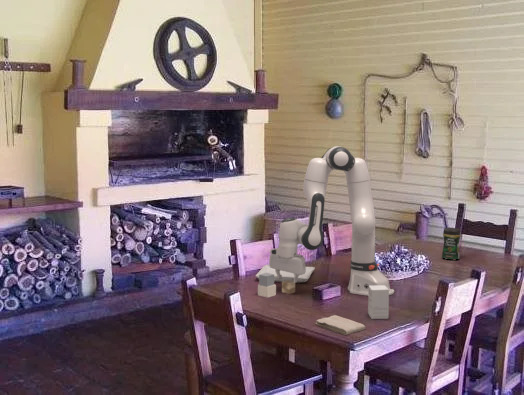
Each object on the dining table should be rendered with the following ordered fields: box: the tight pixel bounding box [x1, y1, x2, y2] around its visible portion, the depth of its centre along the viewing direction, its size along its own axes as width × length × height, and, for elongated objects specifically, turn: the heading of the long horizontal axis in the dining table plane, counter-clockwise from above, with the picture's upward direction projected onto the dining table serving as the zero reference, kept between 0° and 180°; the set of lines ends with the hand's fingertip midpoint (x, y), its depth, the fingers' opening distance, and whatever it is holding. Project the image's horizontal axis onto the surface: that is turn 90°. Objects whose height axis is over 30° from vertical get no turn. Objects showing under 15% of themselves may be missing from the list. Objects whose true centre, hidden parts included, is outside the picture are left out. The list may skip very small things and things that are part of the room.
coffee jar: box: [441, 226, 461, 260], centre depth 395 cm, size 10×8×19 cm
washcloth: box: [315, 314, 366, 336], centre depth 272 cm, size 12×18×3 cm, turn 41°
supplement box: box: [367, 285, 390, 320], centre depth 285 cm, size 7×7×13 cm
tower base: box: [257, 283, 277, 298], centre depth 319 cm, size 6×6×5 cm
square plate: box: [255, 264, 316, 284], centre depth 354 cm, size 27×27×4 cm
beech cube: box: [281, 280, 296, 295], centre depth 324 cm, size 4×4×5 cm
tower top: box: [258, 273, 275, 287], centre depth 318 cm, size 5×5×5 cm
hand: (286, 280), depth 324 cm, fingers open, 8 cm apart
